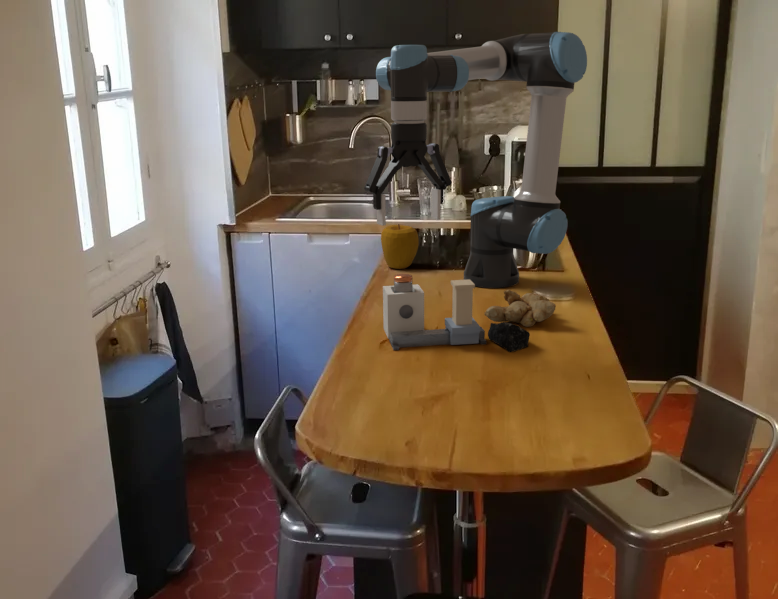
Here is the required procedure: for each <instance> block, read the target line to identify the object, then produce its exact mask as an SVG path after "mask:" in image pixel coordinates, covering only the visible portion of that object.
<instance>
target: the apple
mask: <svg viewBox="0 0 778 599" xmlns="http://www.w3.org/2000/svg"><path fill="white" fill-rule="evenodd" d="M380 241H381V242H380V243H381V248H382V254H383V258H384V260H385V263H386V265H387V266H388V267H389V268H391V269H397V270H403V269H407V268H408V267H410V266H411V265H412V263H413V261H414V259H415V257H416V255H417V253H418V249H419V245H420V244H419V241H420V240H419V234H418V231H417V230H416V228H415V227H413V226H410V225H403V224H402V225H401V224H400V223H398V224H391V225H386V226H385V228H383V229H382V231H381V233H380Z"/></svg>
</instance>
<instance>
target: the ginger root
mask: <svg viewBox="0 0 778 599" xmlns="http://www.w3.org/2000/svg"><path fill="white" fill-rule="evenodd" d="M503 294H504V296H503V298H504V301H506V302H507V304H508V305H507V306H500V305H492V306H489V307H488V308H487V309H486V310H485V312H484V314H483V315H484V316H485V317H486V318H488V319H489V320H490V321H493V322H496V323H501V322H507V323H511V322H513V323H516V324H518V323H520V324H521V325H522V326H524V327H526V328H527V327H528V328H529V327H533V326H534V325H535V324H536V322H539V323H540V322H543V321H544V320H547V319H549V318H550V317H551V316H552V315H553V314H554V313H555V311H556V303H554V302H553V301H550V299H549V298H548V297H546V296H544V295H542V294H540V293H534V292H527V293H525V294H523V295H522V296H521V295H520V294H519V293H517V292H516V291H515V290H514V291H513V290H511V289H506V290H504V291H503Z"/></svg>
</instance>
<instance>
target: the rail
mask: <svg viewBox="0 0 778 599" xmlns="http://www.w3.org/2000/svg"><path fill="white" fill-rule="evenodd" d="M485 331H486V330H485V329H484V328H483V327H482V326H480V333H479V343H478V344H480V345H481V346H482V345H487V340H486V338H485V335H486V333H485ZM388 342H389V343H390V346H391V348H392V350H393V351H400V348H413V347H429V346H444V345H451V344H450V331H449V330H448V329H445V328H439V329H438V328H435V329H424V330H418V331H402V332H390V337H389V340H388Z"/></svg>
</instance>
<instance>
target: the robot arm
mask: <svg viewBox="0 0 778 599" xmlns="http://www.w3.org/2000/svg"><path fill="white" fill-rule="evenodd" d="M587 67H588V55H587V50H586V47H585V45H584V43H583V40H582V39H581V38H580V37H579V35H577V34H576V33H573V32H566V31H564V32H563V31H553V32H538V33H537V32H536V33H521V34H517V35H513V36H508V37H505V38H499V39H497V40H496V39H495V40H488V41H486V42H484V43H483V44H482V45H481V46H475V47H466V48H458V49H449V50H442V51H434V52H433V51H432V52H428V50H427V46H426V45H424V44H399V45H398V44H397V45H394V46H393V47H392V48H391V50H390V56H387V57H384V58H382V59H381V60H380V61H379V62H378V63H377V66H376V68H375V69H376V70H375V77H376V81H377V84H378V86H380V88H382V89H383V90H385V91H390V120H392V121H393V122H392V123H391V125H390V139H391V145H390V147H388V146H383V145H380V146H378V147H377V155H376V159H375V161H374V163H373V166H372V168H371V171H370V173H369V175H368V178H367V180H366V183H365V184H364V191H366V192H368V193H371V194H372V206H373V209H374V210H376V224H377V225H379V226H384V227H385V226H387V222H386V220H387V219H386V218H387V214H386V212H387V211H386V209H387V207H386V203H387V202H386V196H387V195H386V194H384V191H385V189H386V188H387V186H388V185H389V184H390V182H391V181H392V180H393V178H394V177H395V176H396V174H397V172H399V170H400V169H401V168H408V167H419V168H420V169H421V171H422V172H423V173H424V175H425V176H426V178H427V179H428V180H429V181H430V182H431V184H432V185H433V187H434V188H431V189H430V194H431V195H430V197H431V198H430V200H431V201H430V202H431V203H430V205H431V206H430V215H431V216H430V218H431V219H434V220H437V221H439V220H441V206H442V205H441V204H444V191H445V190H447V187H449V186H451V185H452V184H453V183H452V181H453V180H452V179H451V177H450V175H449V173H448V170H447V168H446V165H445V162H444V161H443V158H442V156H441V151H440V145H439V143H435V142H434V143H433V142H430V143H429V144H427V143H426V142H427V137H428V135H427V134H428V133H427V128H428V126H427V123H426V122H425V121H426V120H428V119H427V118H428V111H427V110H428V108H427V107H428V104H427V102H428V101H427V100H428V92H431V93H432V92H433V93H435V92H436V93H439V92H449V93H453V92H454V91H455V92H456V91H457V92H458V91H461V90H462V89H463V88H464V87H465V86H466V85H467V83H468V82H469V81H472V80H474V81H475V80H478V79H479V80H480V79H485V80H487V81H493V82H494V81H500V80H501V81H515V82H526V85H525V86H526V90H527V92H528V93H530V95H531V97H530V98H531V99H530V106H529V116H528V126H527V132H526V133H527V135H526V143H525V144H526V145H525V153H524V162H523V171H522V172H523V173H522V180H521V190H520V192H518V194H517V195H516V196H511V195H508V196H507V195H505V196H503V195H501V196H491V197H483V198H479V199H475V200H474V201H473V202H472V204H471V209H470V210H471V211H470V253H469V258H468V260H467V263H466V265H465V269H464V270H463V280H468V279H470V280H471V281H472V282H473V283H474V284H475V287H478V288H484V289H485V288H488V289H489V288H490V289H498V288H499V289H500V288H509V287H512V286H516V285H518V284H519V283H520V270H519V268H518V265H517V261H516V258H515V255H514V250H515V249H516V250H519V251H525V252H530V253H532V254H543V255H546V254H547V255H548V254H550V253H553V252H554V251H556V249H558V248H559V246H560V245H561V244H562V242H563V241H564V239H565V237H566V234H567V230H568V218H567V215H566V213H565V212H564V211H563V210H562V209H560V208H561V200H560V199H559V197H557V195H556V190H557V184H558V183H557V182H558V172H559V165H560V155H561V149H562V148H561V147H562V138H563V131H564V130H563V129H564V123H565V112H566V104H567V98H568V97H569V96H570V95H571V94H572V93H573V92H574V89H575V83H578V82H579V81H580V80H582V79H583V78H584V75H585V74H586V71H587ZM427 153H428V154H429V157H430V160H431V163H432V164H433V166H434V168H435V170H434V169H433V168H432V166H431V165H430V162H429V161H428V160H427V158H426V157H425V156H426V154H427ZM390 155H391V156H392V157H391V158H392V159H391V160H390V161H389V163H388V166H387V167H386V169H385V170H384V168H385V165H386V164H387V161H388V158H389V157H390ZM383 170H384V172H383ZM435 171H436V172H435ZM382 172H383V173H382Z"/></svg>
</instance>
